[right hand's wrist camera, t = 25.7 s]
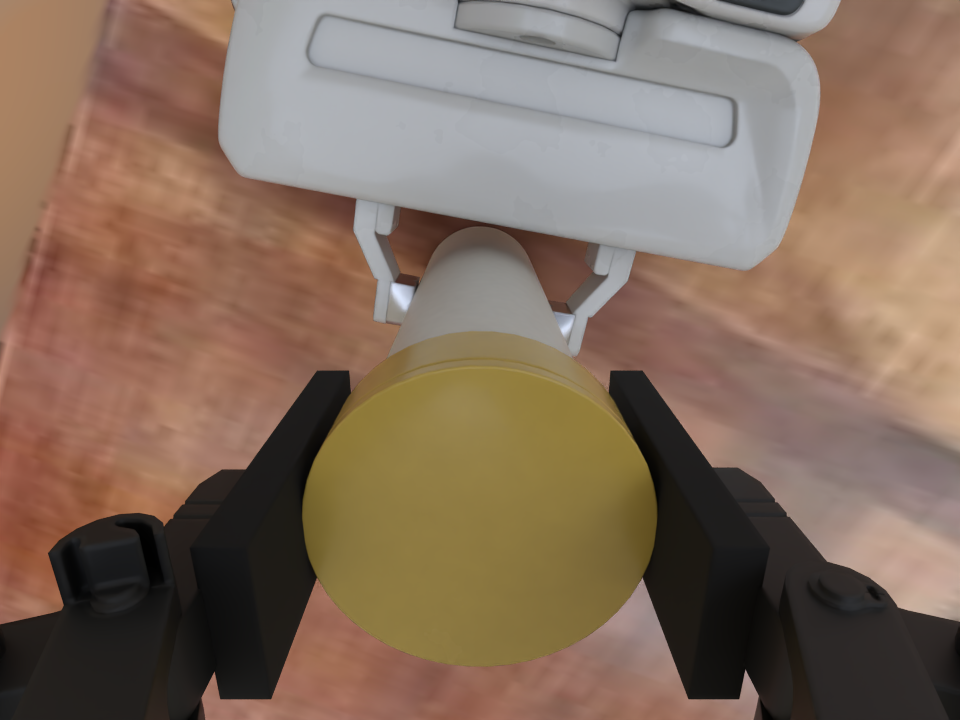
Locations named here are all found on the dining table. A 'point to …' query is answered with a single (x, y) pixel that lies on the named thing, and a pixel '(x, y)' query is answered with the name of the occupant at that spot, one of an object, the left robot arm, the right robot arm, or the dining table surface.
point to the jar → (479, 292)
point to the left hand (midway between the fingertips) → (477, 335)
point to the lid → (479, 502)
